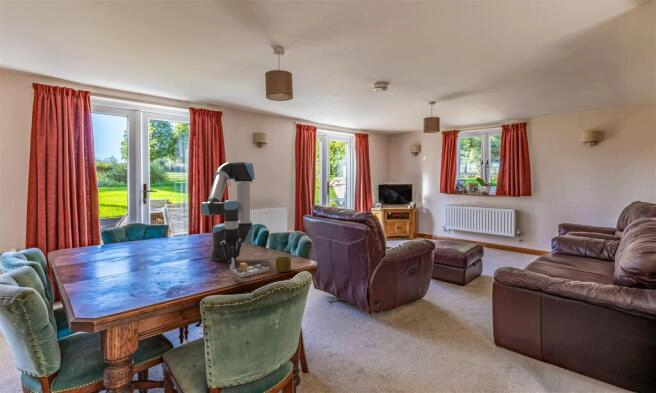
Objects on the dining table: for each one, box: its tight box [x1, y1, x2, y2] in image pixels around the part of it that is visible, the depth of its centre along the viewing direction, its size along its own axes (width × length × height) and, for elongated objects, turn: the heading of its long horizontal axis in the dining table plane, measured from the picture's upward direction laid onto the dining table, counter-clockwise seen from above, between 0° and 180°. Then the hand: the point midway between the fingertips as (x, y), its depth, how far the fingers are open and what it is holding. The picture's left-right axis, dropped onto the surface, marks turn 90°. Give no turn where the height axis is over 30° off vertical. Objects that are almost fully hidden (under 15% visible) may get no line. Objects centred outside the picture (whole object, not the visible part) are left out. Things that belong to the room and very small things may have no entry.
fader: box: [239, 262, 248, 271], centre depth 184 cm, size 4×2×4 cm, turn 43°
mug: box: [275, 255, 292, 273], centre depth 192 cm, size 12×10×10 cm
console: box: [232, 262, 270, 278], centre depth 187 cm, size 10×18×4 cm, turn 133°
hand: (232, 269), depth 179 cm, fingers closed
